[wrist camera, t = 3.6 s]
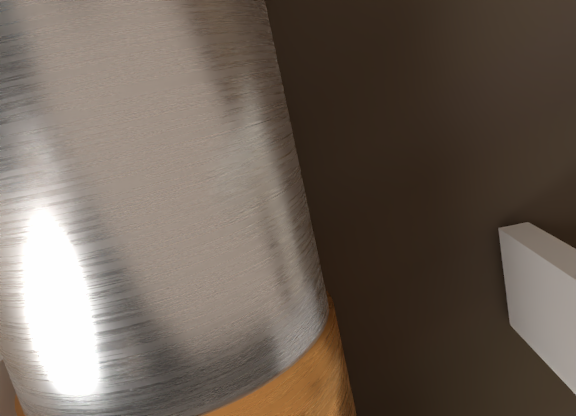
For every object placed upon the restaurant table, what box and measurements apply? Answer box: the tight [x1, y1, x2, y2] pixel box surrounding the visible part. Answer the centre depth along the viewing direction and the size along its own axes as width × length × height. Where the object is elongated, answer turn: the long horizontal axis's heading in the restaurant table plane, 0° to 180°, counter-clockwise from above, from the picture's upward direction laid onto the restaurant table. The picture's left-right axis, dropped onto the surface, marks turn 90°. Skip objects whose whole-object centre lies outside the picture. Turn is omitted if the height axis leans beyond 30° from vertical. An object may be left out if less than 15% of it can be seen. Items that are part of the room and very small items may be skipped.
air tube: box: [0, 0, 357, 416], centre depth 11 cm, size 26×6×6 cm, turn 12°
